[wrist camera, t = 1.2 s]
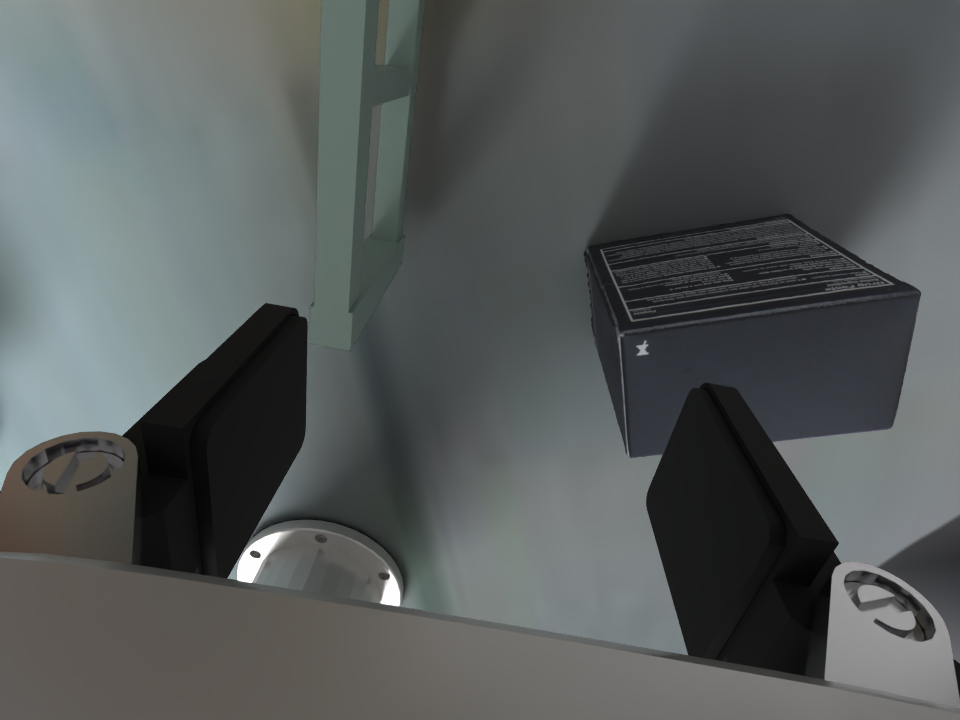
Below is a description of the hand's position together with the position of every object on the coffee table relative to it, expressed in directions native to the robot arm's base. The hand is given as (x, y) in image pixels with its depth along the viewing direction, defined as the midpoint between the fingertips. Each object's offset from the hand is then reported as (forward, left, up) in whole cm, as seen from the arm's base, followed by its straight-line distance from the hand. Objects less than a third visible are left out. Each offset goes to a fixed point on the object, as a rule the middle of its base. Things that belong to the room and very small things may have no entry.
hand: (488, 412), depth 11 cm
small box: (-3, -10, -20) cm, 23 cm away
